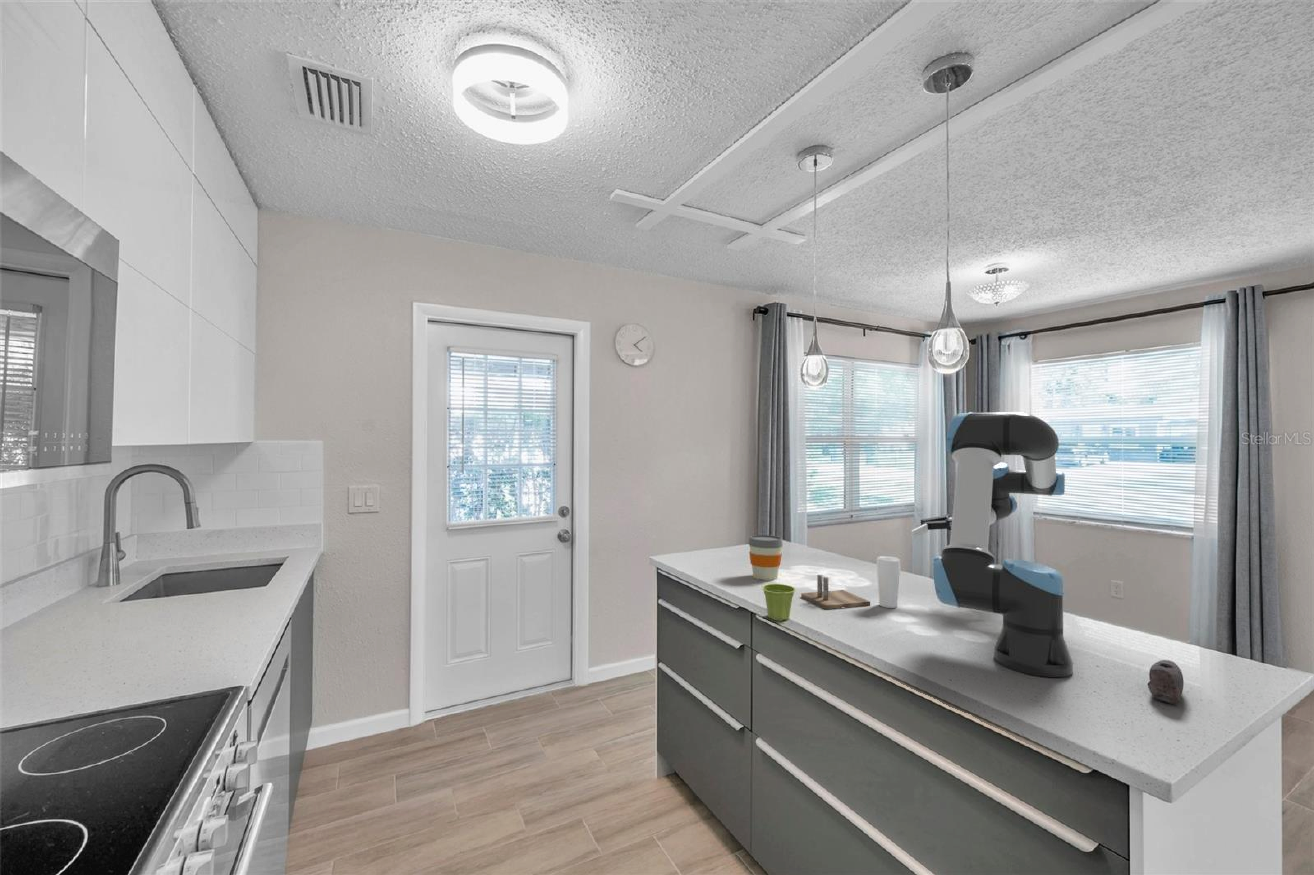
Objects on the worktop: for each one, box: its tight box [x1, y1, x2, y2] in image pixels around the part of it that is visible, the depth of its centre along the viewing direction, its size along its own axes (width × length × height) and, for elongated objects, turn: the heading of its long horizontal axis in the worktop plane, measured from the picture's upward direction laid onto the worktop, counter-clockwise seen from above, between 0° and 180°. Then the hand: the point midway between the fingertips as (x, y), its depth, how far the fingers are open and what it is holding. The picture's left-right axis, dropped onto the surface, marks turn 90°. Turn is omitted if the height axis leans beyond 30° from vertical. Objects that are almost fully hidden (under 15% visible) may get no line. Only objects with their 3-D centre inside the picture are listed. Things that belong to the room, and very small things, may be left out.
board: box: [800, 574, 871, 610], centre depth 177 cm, size 16×14×8 cm
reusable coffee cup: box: [748, 534, 783, 581], centre depth 207 cm, size 13×13×15 cm
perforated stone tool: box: [1147, 659, 1184, 705], centre depth 113 cm, size 15×5×7 cm, turn 132°
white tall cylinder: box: [876, 555, 901, 609], centre depth 172 cm, size 7×7×15 cm
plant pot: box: [761, 583, 796, 622], centre depth 160 cm, size 9×9×9 cm
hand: (930, 541), depth 172 cm, fingers open, 13 cm apart
